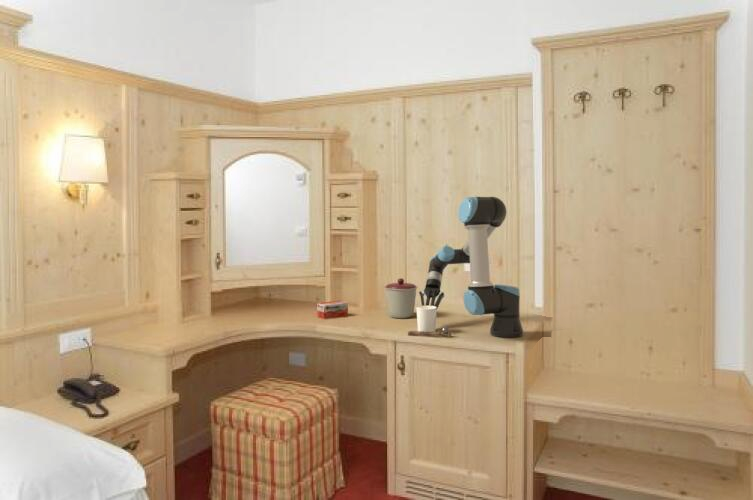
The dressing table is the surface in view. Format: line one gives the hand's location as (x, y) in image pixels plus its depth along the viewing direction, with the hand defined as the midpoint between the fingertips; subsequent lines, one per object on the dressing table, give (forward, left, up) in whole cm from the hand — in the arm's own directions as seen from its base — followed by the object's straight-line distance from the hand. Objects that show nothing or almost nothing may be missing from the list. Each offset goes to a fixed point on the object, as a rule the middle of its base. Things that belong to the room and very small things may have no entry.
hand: (427, 320), depth 306 cm
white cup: (-1, +4, -5) cm, 7 cm away
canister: (+21, -31, -5) cm, 37 cm away
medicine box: (+57, -23, -5) cm, 62 cm away
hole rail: (-4, +13, -5) cm, 14 cm away
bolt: (-11, +13, -3) cm, 17 cm away
